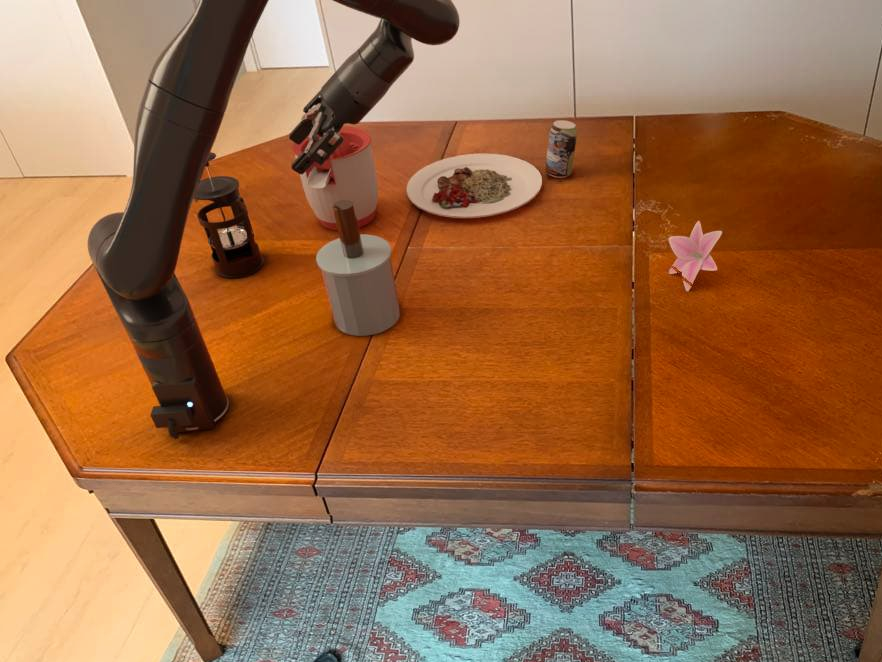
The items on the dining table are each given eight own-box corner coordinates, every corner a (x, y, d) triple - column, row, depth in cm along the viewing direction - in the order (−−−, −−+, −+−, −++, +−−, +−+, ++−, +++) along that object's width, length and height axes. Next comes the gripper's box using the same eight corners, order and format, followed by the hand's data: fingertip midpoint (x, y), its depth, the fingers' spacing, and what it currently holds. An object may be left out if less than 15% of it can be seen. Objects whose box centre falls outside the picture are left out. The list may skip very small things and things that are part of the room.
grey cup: (399, 332, 141) (388, 271, 133) (333, 339, 140) (317, 278, 132) (400, 295, 150) (389, 235, 141) (337, 301, 149) (322, 242, 141)
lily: (667, 259, 157) (653, 230, 150) (726, 237, 154) (714, 206, 146) (680, 308, 151) (665, 280, 144) (741, 286, 148) (730, 257, 140)
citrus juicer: (294, 237, 167) (269, 145, 154) (330, 198, 179) (309, 109, 166) (364, 244, 164) (345, 150, 150) (395, 203, 176) (380, 113, 163)
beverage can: (541, 172, 185) (539, 121, 177) (569, 165, 187) (569, 114, 179) (552, 183, 181) (551, 131, 173) (582, 176, 183) (582, 124, 175)
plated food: (557, 166, 187) (557, 153, 185) (520, 231, 165) (519, 216, 163) (436, 156, 194) (434, 142, 191) (386, 216, 172) (383, 202, 170)
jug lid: (391, 275, 133) (381, 220, 126) (314, 283, 132) (299, 227, 125) (392, 237, 142) (382, 183, 135) (320, 244, 141) (307, 190, 134)
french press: (248, 282, 155) (212, 170, 139) (204, 278, 156) (163, 167, 141) (276, 250, 163) (244, 141, 148) (233, 247, 165) (198, 138, 150)
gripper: (334, 48, 129) (273, 118, 135) (342, 95, 120) (276, 168, 127) (371, 77, 134) (310, 143, 140) (381, 125, 125) (316, 193, 132)
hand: (294, 155), depth 133 cm, fingers open, 8 cm apart
